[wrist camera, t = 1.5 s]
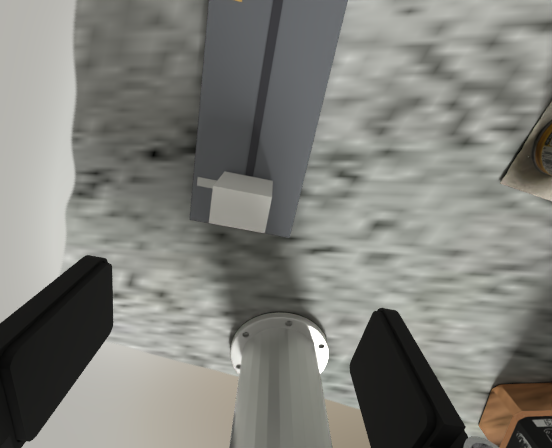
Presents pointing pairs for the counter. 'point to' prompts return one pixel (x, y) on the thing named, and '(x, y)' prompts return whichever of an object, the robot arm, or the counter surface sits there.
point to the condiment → (534, 161)
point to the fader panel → (263, 97)
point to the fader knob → (241, 202)
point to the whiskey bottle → (519, 416)
